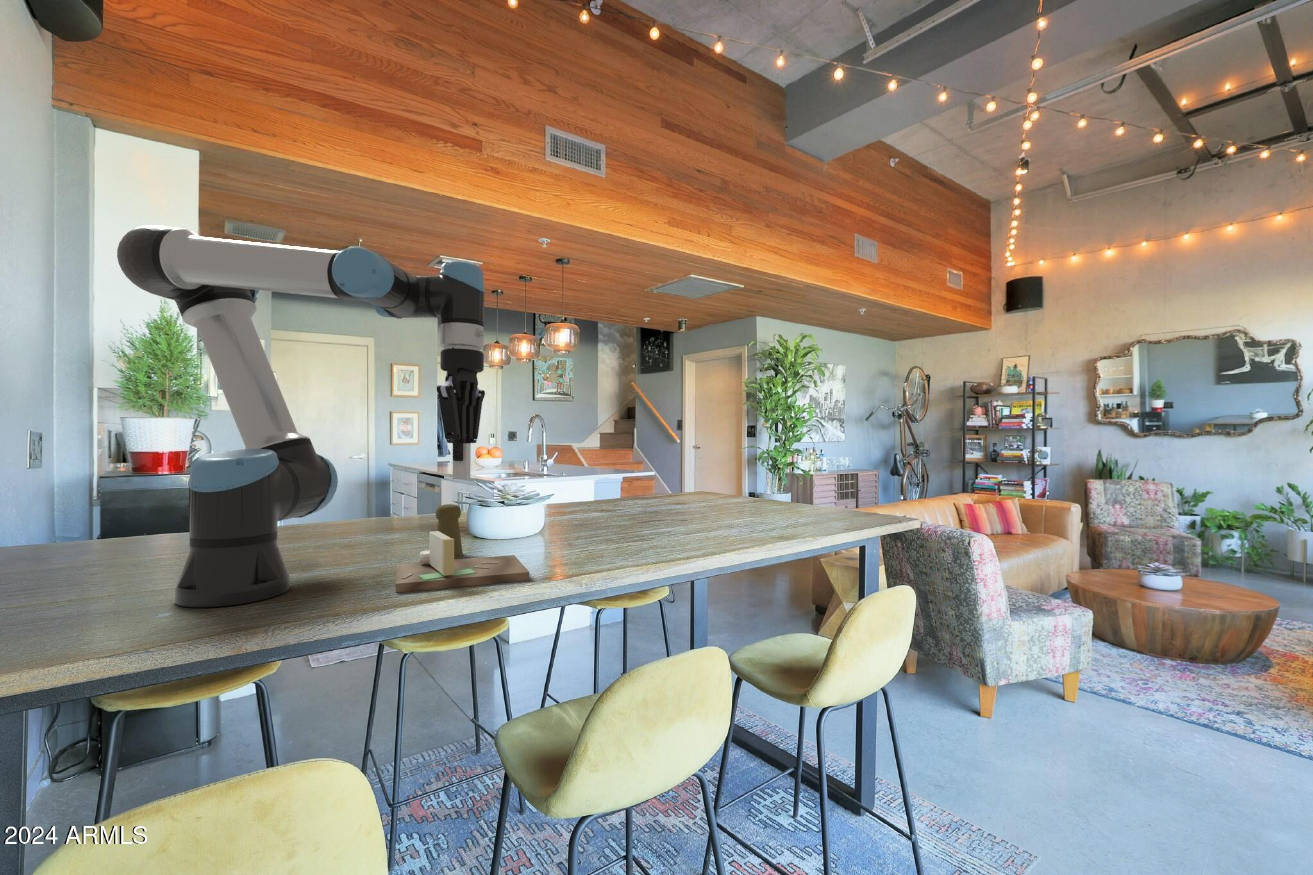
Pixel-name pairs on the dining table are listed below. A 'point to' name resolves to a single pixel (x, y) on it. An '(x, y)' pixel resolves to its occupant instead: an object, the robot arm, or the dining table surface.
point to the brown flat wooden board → (460, 573)
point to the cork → (450, 525)
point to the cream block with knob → (439, 553)
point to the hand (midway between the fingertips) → (461, 478)
